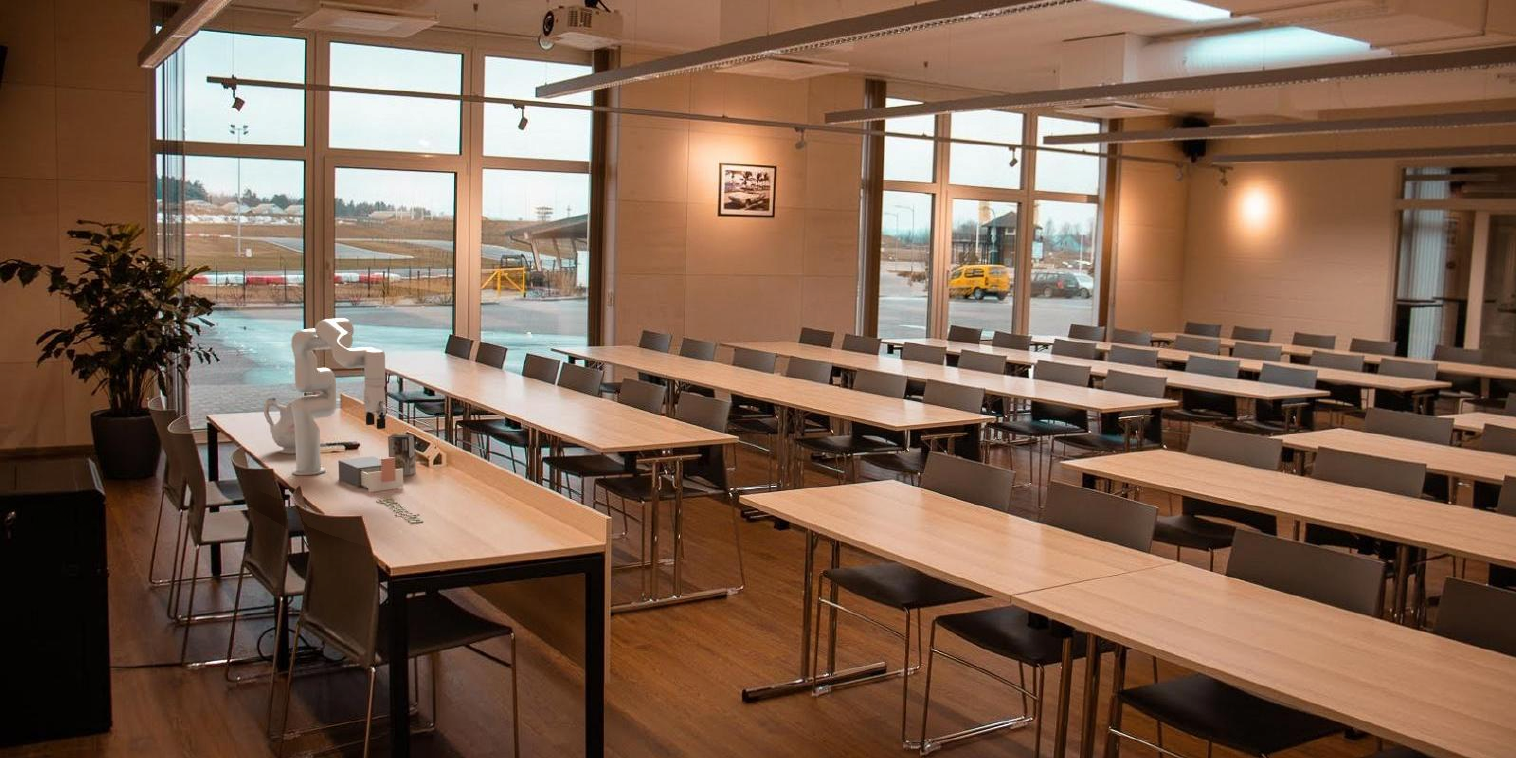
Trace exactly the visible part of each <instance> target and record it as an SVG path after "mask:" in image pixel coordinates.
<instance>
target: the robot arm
mask: <svg viewBox="0 0 1516 758" xmlns="http://www.w3.org/2000/svg"><path fill="white" fill-rule="evenodd" d="M354 331H355V329H354V325H353V323H352V322H351V321H350V320H349V319H347V318H326V319H322V320H320V321H318V322H317V323H316V324H315V326H314V328H306V329H301V330H298V331H296V332H295V333H293V335H292V337H291V349H292V353H293V358H294V383H295V388H296V389H295V390H296V391H298V392H299V393H302V394H306V393H307V394H309V393H318V392H319V394H310V395H302V396H299V397H296V398H295V399H293V400H292V401H293V402H292V405H291V410H292V414H293V419H294V426H295V445H296V453H295V463H296V464H295V467H296V468H294V469H293V470H292V471H291V473H292V475H295V476H315V475H320V474H324V473H325V472H326V468H325V467H322V459H321V457H322V456H321V453H322V452H321V433H320V432H321V430H320V427H319V425H318V424H317V422H316V421H315V419H320V418H328V417H331V416H333V415H334V414H335V412H336V408H337V383H336V382H337V381H336V376H335V374H334V372H333V370H332V369H330V368H327V367H318V358H317V355H316V354H315V352H314V351H320V350H331V354H332V357H333V359H334V361H335V362H336V363H337V364H338V365H340V366H341V367H343V368H345V369H355V368H356V369H357V368H364V373H363V375H364V390H363V410H364V411H365V412H364V413H365V425H366V426H374V425H375V414H376V429H377V430H385V429H386V418H387V417H386V416H387V410H388V409H387V407H386V405H387V404H386V390H385V387H386V354H385V351H384V350H381V349H376V348H374V347H370V346H369V347H367V346H365V347H353V348H351V347H352V345H353V342H354V339H353V336H354Z"/></svg>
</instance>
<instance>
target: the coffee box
mask: <svg viewBox="0 0 1516 758" xmlns="http://www.w3.org/2000/svg"><path fill="white" fill-rule="evenodd" d="M415 443H416V442H415V433H414V434H413V433H392V434H390V435H389V436H387V444H388V445H387V447H388V458H390V457H395V469H401V468H403V476H412V475H414V474H416V471H417V470H416V444H415Z"/></svg>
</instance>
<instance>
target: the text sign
mask: <svg viewBox="0 0 1516 758" xmlns="http://www.w3.org/2000/svg"><path fill="white" fill-rule="evenodd" d="M375 502H376V503H377V504H379V505H385V506H386V507H388V506H390V507H389V508H388V509H390V508H393V509H391V510H393V511H392V512H396V513H394V514H395V515H394V517H398V516H397V515H401V516H406V517H402V519H403V518H405V519H404V521H405V520H408V521H407V523H409V524H410V523H416V524H419V523H418V522H425V521H424V520H423V519H420V517H419V516H420V513H415V514H413V512H408V511H410V510H409V509H408V508H406V507H404V505H401V504H400V503H399V502H398V501H396V500H395V499H393V498H384V499H382V498H381V499H376V500H375ZM396 506H400V507H396ZM401 508H403V509H401ZM395 509H398V510H395ZM403 510H406V511H403ZM398 511H401V512H398ZM405 512H407V513H405ZM397 513H398V514H397ZM402 513H403V514H402ZM407 514H412V515H407ZM416 515H419V516H416ZM401 516H400V517H401ZM412 516H415V517H412ZM407 518H415V519H407ZM410 521H416V522H410Z"/></svg>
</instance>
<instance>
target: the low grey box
mask: <svg viewBox="0 0 1516 758" xmlns="http://www.w3.org/2000/svg"><path fill="white" fill-rule="evenodd" d="M381 459H382V458H378V457H376V456H371V455H370V456H364V457H357V458H356V457H355V458H347V459H340V460H338V462H337V463H338V480H339V481H340V482H343V483H345V484H348V485H349V486H352V487H354V488H357V489H364V488H366V487H364V486H362V485H360V470H363V469H371V468H379V467H381Z"/></svg>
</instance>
